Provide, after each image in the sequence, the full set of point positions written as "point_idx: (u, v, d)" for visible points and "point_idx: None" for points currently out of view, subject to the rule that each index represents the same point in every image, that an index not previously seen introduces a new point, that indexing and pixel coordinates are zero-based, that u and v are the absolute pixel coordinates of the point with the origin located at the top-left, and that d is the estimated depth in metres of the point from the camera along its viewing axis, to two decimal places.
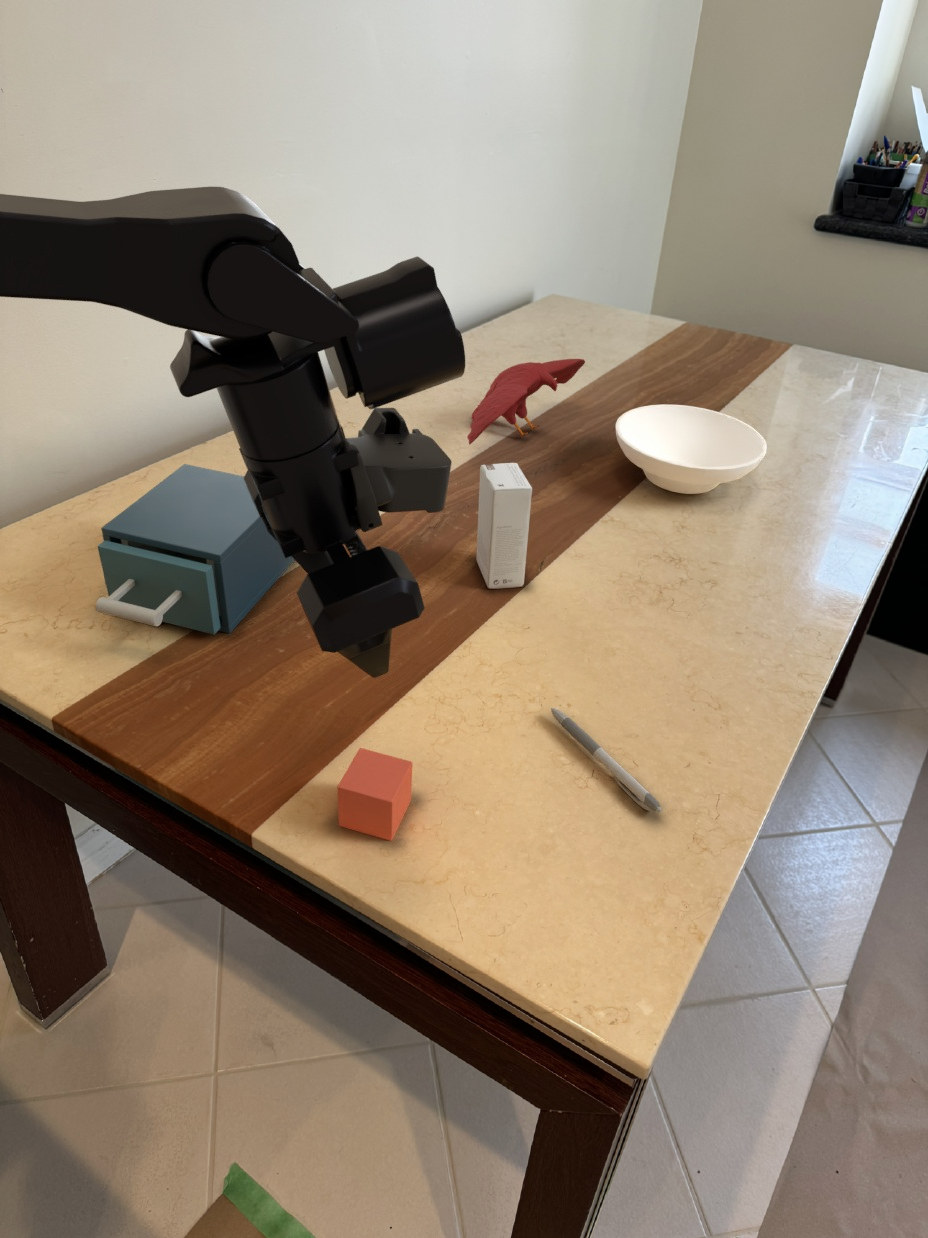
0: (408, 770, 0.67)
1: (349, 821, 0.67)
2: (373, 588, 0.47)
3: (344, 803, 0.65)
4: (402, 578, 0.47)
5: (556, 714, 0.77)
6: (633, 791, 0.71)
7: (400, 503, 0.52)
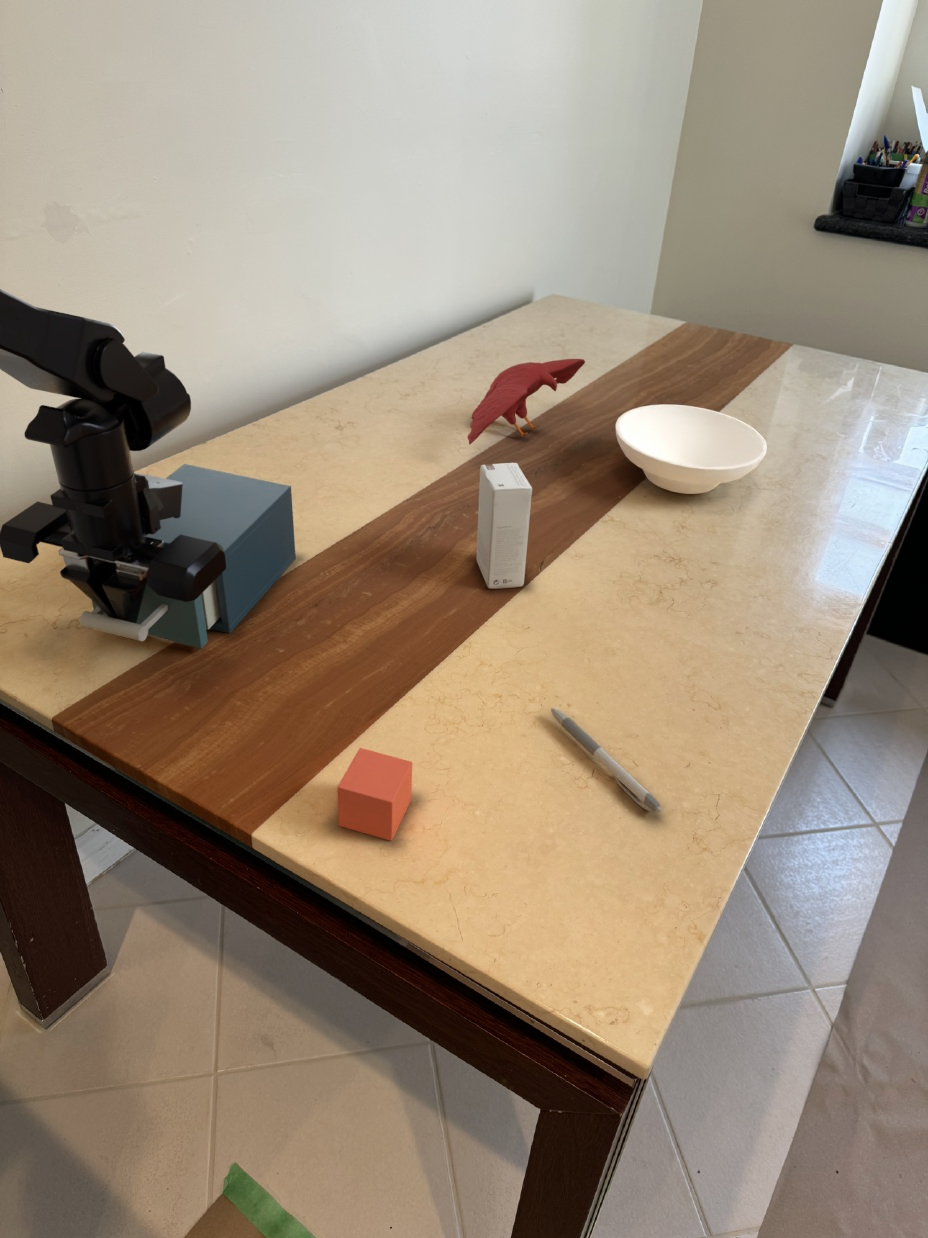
0: (408, 770, 0.67)
1: (349, 821, 0.67)
2: (205, 551, 0.72)
3: (344, 803, 0.65)
4: None
5: (556, 714, 0.77)
6: (633, 791, 0.71)
7: (164, 512, 0.77)
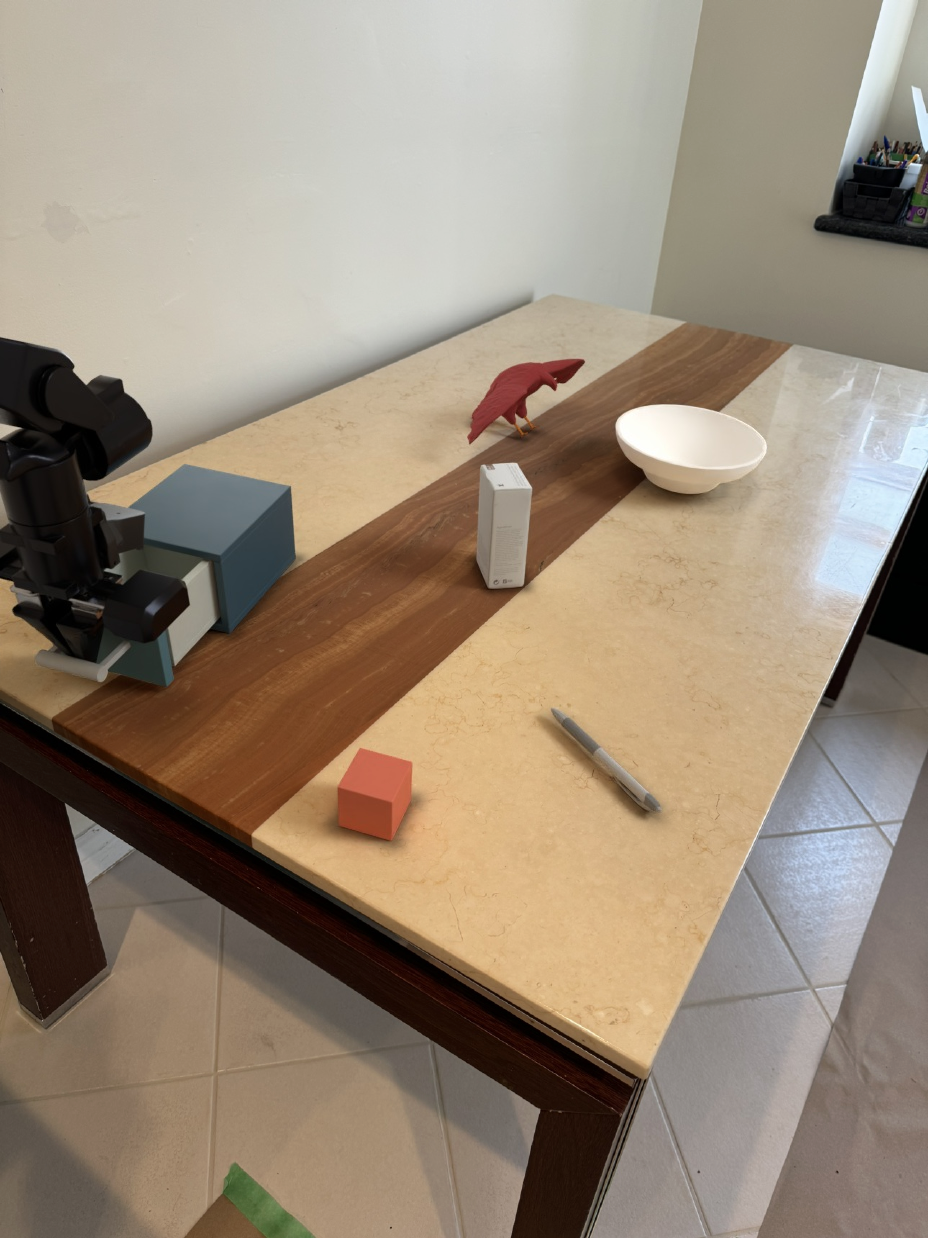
0: (408, 770, 0.67)
1: (349, 821, 0.67)
2: (166, 588, 0.68)
3: (344, 803, 0.65)
4: None
5: (556, 714, 0.77)
6: (633, 791, 0.71)
7: (124, 545, 0.72)
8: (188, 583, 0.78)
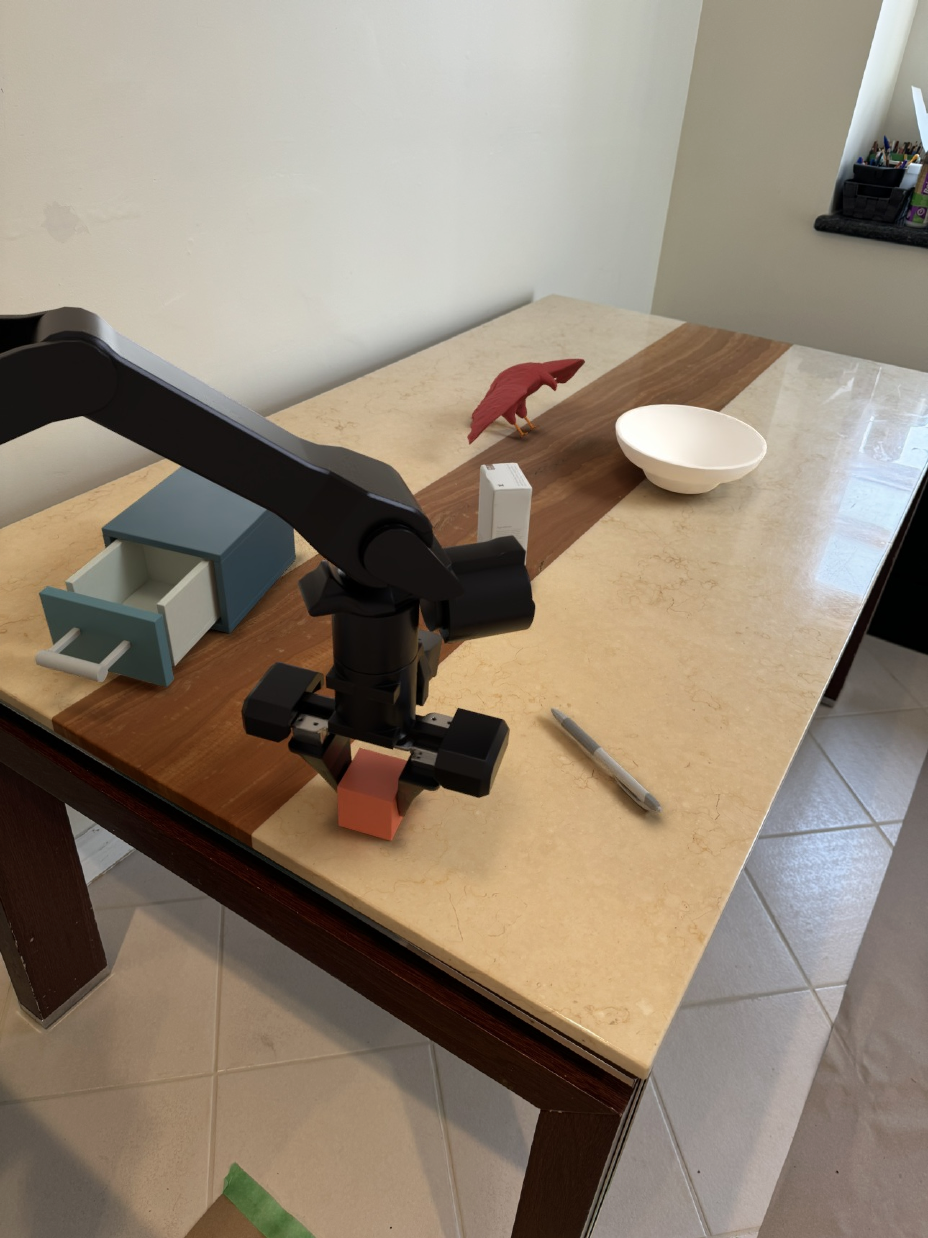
0: None
1: (349, 821, 0.67)
2: (496, 733, 0.61)
3: (344, 803, 0.65)
4: (502, 719, 0.62)
5: (556, 714, 0.77)
6: (633, 791, 0.71)
7: None
8: (188, 583, 0.78)
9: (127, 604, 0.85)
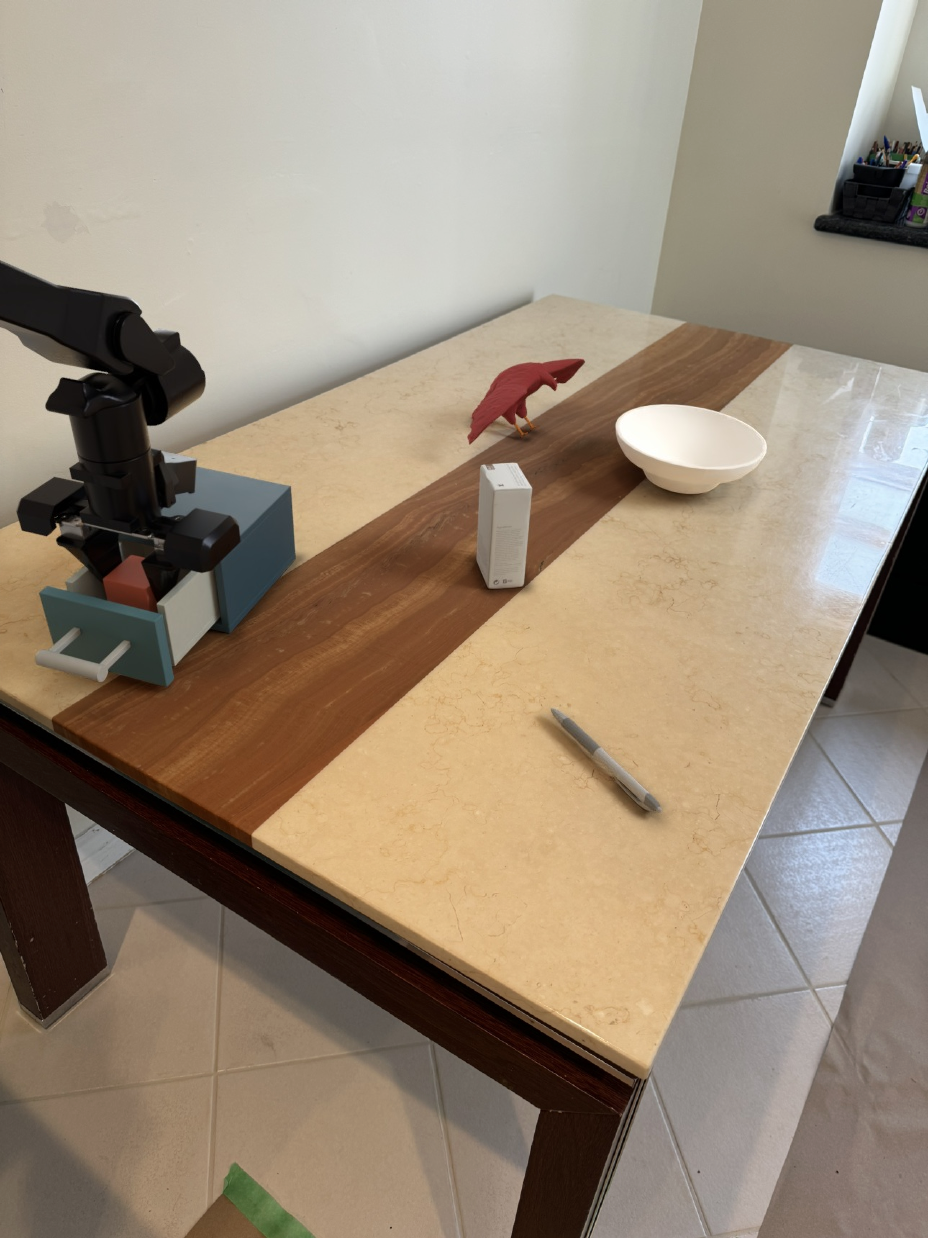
0: None
1: None
2: (221, 524, 0.74)
3: (111, 594, 0.79)
4: (231, 516, 0.75)
5: (555, 714, 0.77)
6: (633, 791, 0.71)
7: (179, 487, 0.78)
8: (189, 583, 0.78)
9: None
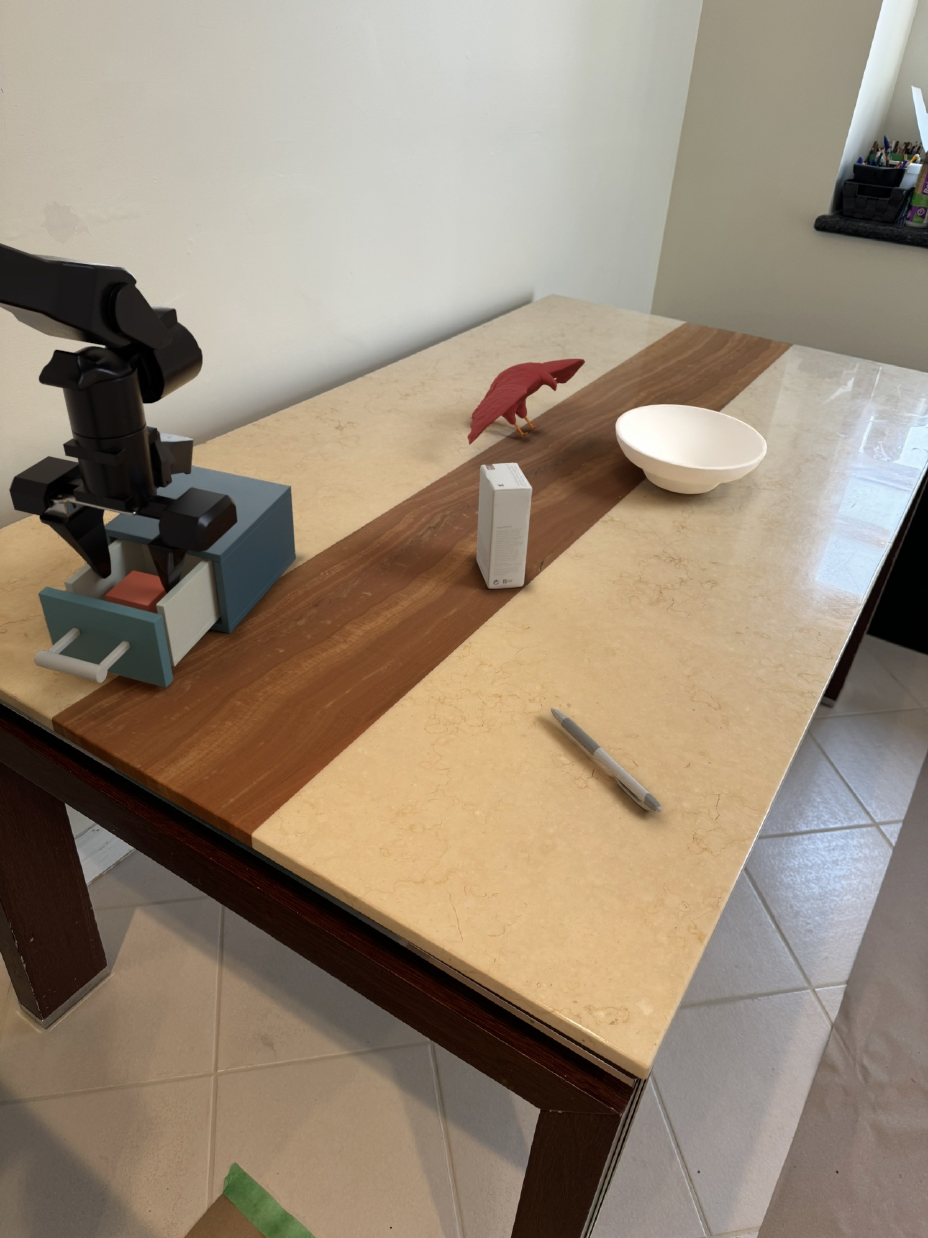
0: None
1: None
2: (217, 503, 0.72)
3: None
4: (227, 495, 0.74)
5: (555, 714, 0.77)
6: (633, 791, 0.71)
7: (175, 467, 0.77)
8: (188, 584, 0.78)
9: None
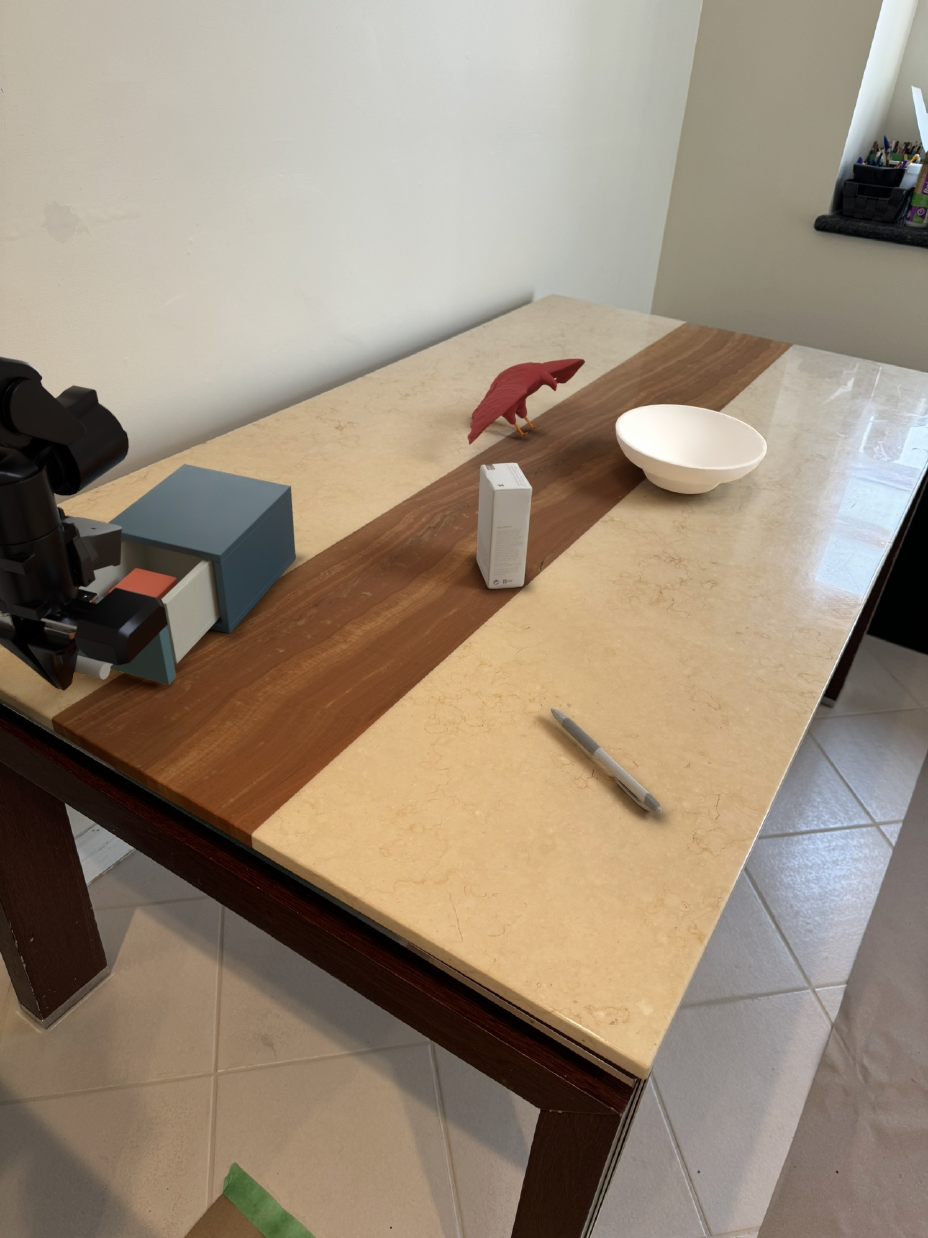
0: (171, 583, 0.81)
1: None
2: (142, 608, 0.65)
3: None
4: (155, 597, 0.67)
5: (555, 715, 0.77)
6: (633, 791, 0.71)
7: (100, 561, 0.69)
8: (190, 581, 0.79)
9: None
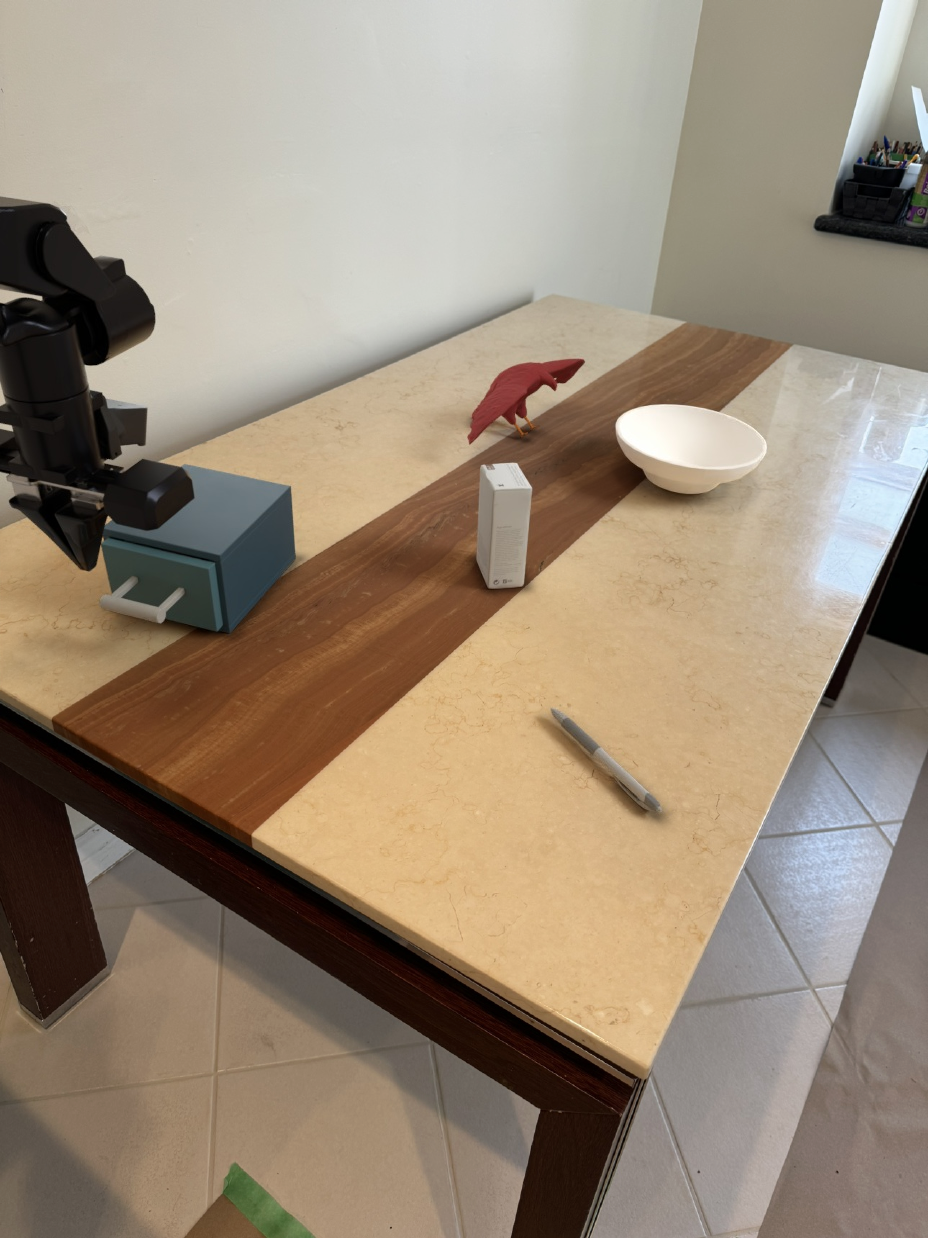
0: None
1: None
2: (170, 476, 0.65)
3: None
4: (182, 468, 0.66)
5: (555, 715, 0.77)
6: (633, 791, 0.71)
7: (126, 437, 0.69)
8: None
9: None
